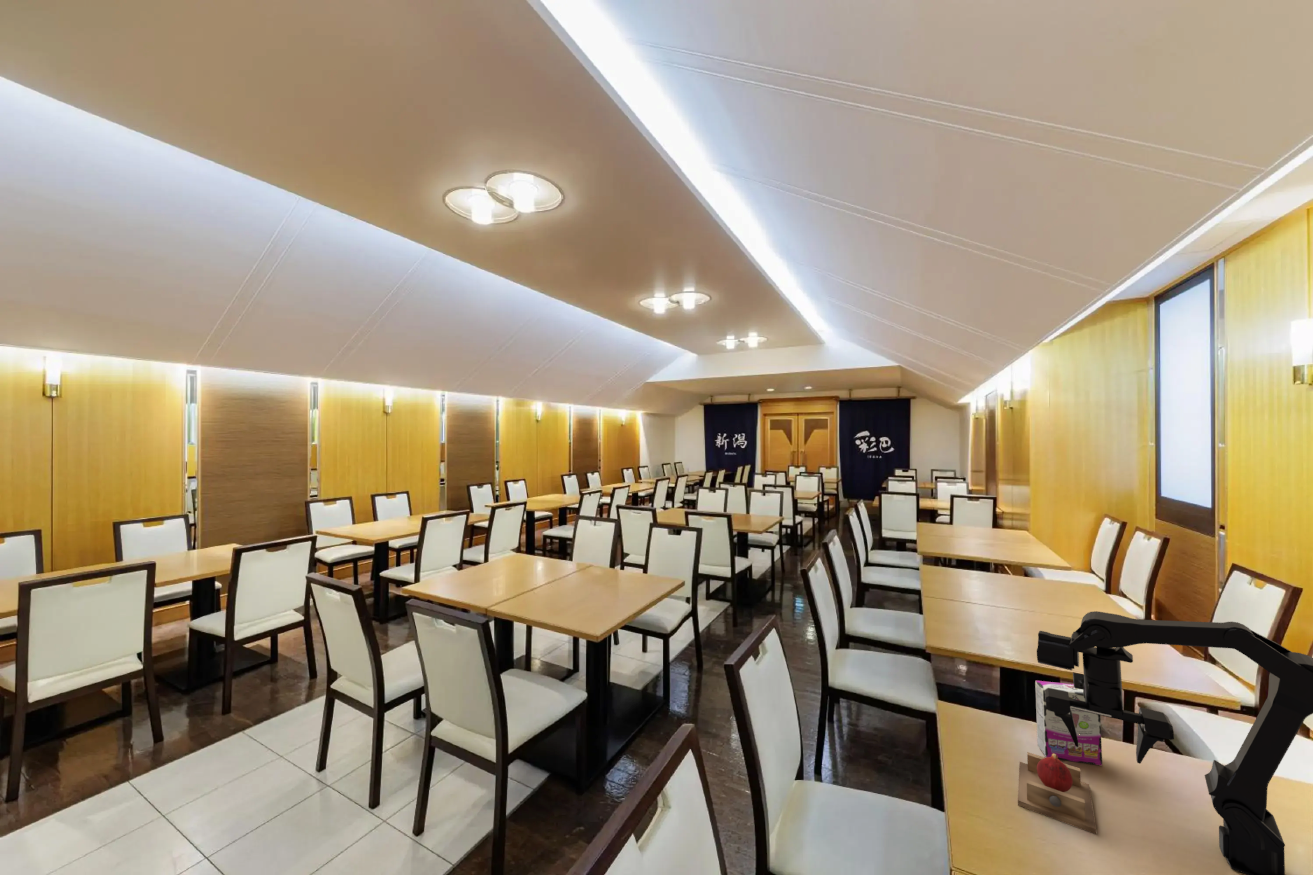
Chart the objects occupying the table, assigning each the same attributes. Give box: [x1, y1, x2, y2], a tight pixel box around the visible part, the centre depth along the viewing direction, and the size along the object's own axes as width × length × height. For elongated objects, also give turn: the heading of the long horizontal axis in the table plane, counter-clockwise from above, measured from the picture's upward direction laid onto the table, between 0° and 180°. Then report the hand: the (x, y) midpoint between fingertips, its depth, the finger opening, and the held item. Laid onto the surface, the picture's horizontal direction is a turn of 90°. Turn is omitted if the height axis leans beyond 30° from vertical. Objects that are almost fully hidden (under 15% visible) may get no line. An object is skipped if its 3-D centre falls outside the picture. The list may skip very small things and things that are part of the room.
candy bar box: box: [1034, 680, 1103, 766], centre depth 114 cm, size 11×5×16 cm, turn 73°
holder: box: [1017, 751, 1097, 835], centre depth 101 cm, size 12×15×4 cm
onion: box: [1037, 753, 1073, 792], centre depth 101 cm, size 6×6×8 cm
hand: (1106, 753), depth 97 cm, fingers open, 9 cm apart
